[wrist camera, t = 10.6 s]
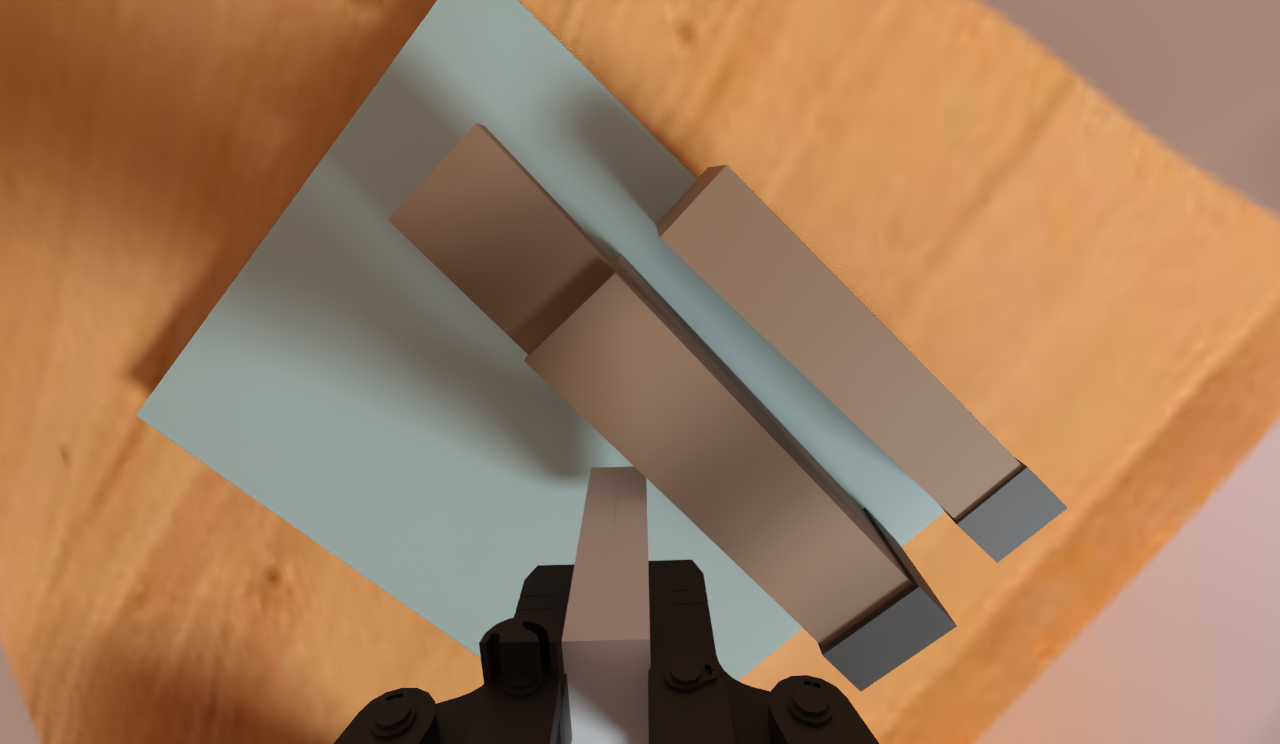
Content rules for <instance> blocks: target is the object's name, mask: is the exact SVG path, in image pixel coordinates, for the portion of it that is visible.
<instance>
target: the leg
mask: <svg viewBox="0 0 1280 744" xmlns="http://www.w3.org/2000/svg"><path fill="white" fill-rule="evenodd" d="M388 221H389V222H390V223H391V224H392V225H393V226H395V227H396V228H397V229H398V230H399V231H400V232H401V233H402V234H403V235H404V236H405V237H406V238H407V239H408V240H409V241H410V242H411V243H412V244H413V245H414V246H415V247H416V248H417V249H418V250H419V251H421V252H422V253H423V254H424V255H425V256H426V257H427V258H428V259H429V260H430V261H431V262H432V263H433V264H434V265H435V266H436V267H437V268H438V269H439V270H440V271H441V272H442V273H443V274H444V275H446V276H447V277H448V278H449V279H450V280H451V281H452V282H453V283H454V284H455V285H456V286H457V287H458V288H459V289H460V290H461V291H462V292H463V293H464V294H465V295H466V296H467V297H468V298H469V299H470V300H472V301H473V302H474V303H475V304H476V305H477V306H478V307H479V308H480V309H481V310H482V311H483V312H484V313H485V314H486V315H487V316H488V317H489V318H490V319H491V320H492V321H493V322H494V323H495V324H496V325H498V326H499V327H500V328H501V329H502V330H503V331H504V332H505V333H506V334H507V335H508V336H509V337H510V338H511V339H512V340H513V341H514V342H515V343H516V344H517V345H518V346H519V347H520V348H521V349H523V350H524V351H525V352H526V353H527V354H528V355H527V357H526V358H525V360H524V362H526V363H527V364H528V365H529V366H530V367H531V368H532V369H533V370H534V371H535V372H536V373H537V374H538V375H539V376H540V377H541V378H542V379H543V380H544V381H545V382H546V383H548V384H549V385H550V386H551V387H552V388H553V389H554V390H555V391H556V392H557V393H558V394H559V395H560V396H561V397H562V398H563V399H564V400H565V401H566V402H567V403H568V404H569V405H571V406H572V407H573V408H574V409H575V410H576V411H577V412H578V413H579V414H580V415H581V416H582V417H583V418H584V419H585V420H586V421H587V422H588V423H589V424H590V425H591V426H592V427H594V428H595V429H596V430H597V431H598V432H599V433H600V434H601V435H602V436H603V437H604V438H605V439H606V440H607V441H608V442H609V443H610V444H611V445H612V446H613V447H614V448H616V449H617V450H618V451H619V452H620V453H621V454H622V455H623V456H624V457H625V458H626V459H627V460H628V461H629V462H630V463H631V464H632V465H633V466H634V467H635V468H636V469H637V470H639V471H640V472H641V473H642V474H643V475H644V476H645V477H646V478H647V479H648V480H649V481H650V482H651V483H652V484H653V485H654V486H655V487H656V488H657V489H658V490H659V491H660V492H662V493H663V494H664V495H665V496H666V497H667V498H668V499H669V500H670V501H671V502H672V503H673V504H674V505H675V506H676V507H677V508H678V509H679V510H680V511H681V512H682V513H684V514H685V515H686V516H687V517H688V518H689V519H690V520H691V521H692V522H693V523H694V524H695V525H696V526H697V527H698V528H699V529H700V530H701V531H702V532H703V533H704V534H705V535H707V536H708V537H709V538H710V539H711V540H712V541H713V542H714V543H715V544H716V545H717V546H718V547H719V548H720V549H721V550H722V551H723V552H724V553H725V554H726V555H727V556H728V557H730V558H731V559H732V560H733V561H734V562H735V563H736V564H737V565H738V566H739V567H740V568H741V569H742V570H743V571H744V572H745V573H746V574H747V575H748V576H749V577H750V578H752V579H753V580H754V581H755V582H756V583H757V584H758V585H759V586H760V587H761V588H762V589H763V590H764V591H765V592H766V593H767V594H768V595H769V596H770V597H771V598H772V599H773V600H775V601H776V602H777V603H778V604H779V605H780V606H781V607H782V608H783V609H784V610H785V611H786V612H787V613H788V614H789V615H790V616H791V617H792V618H793V619H794V620H795V621H796V622H798V623H799V624H800V625H801V626H802V627H803V628H804V629H805V630H806V631H807V632H808V633H809V634H810V635H811V636H812V637H813V638H814V639H815V640H816V641H817V642H818V644H819V647H820V650H821V652H822V655H823V656H824V657H825V658H826V659H827V660H828V661H829V662H830V663H831V664H832V665H833V666H834V667H836V668H837V669H838V670H839V671H840V672H841V673H842V674H843V675H844V676H845V677H846V678H847V679H848V680H849V681H850V682H851V683H852V684H853V685H854V686H855V687H857V688H858V689H859V690H860V691H862V690H864V689H865V688H867V687H868V686H870V685H871V684H873V683H874V682H876V681H877V680H879V679H880V678H882V677H883V676H884V675H886V674H887V673H889V672H890V671H892V670H893V669H895V668H896V667H898V666H899V665H901V664H902V663H904V662H905V661H906V660H908V659H909V658H911V657H912V656H914V655H915V654H917V653H918V652H920V651H921V650H923V649H924V648H926V647H927V646H929V645H930V644H931V643H933V642H934V641H936V640H937V639H939V638H940V637H942V636H943V635H945V634H946V633H948V632H949V631H951V630H952V629H953V628H955V627H956V624H955V623H954V621H953V620H952V619H951V617H950V616H949V614H948V613H947V611H946V610H945V609H944V607H943V606H942V604H941V603H940V601H939V600H938V599H937V597H936V596H935V594H934V593H933V592H932V590H931V589H930V587H929V586H928V584H927V583H926V582H925V580H924V579H923V577H922V576H921V574H920V573H919V572H918V570H917V569H916V567H915V566H914V564H913V563H912V562H911V560H910V559H909V557H908V556H907V555H906V553H905V552H904V550H903V549H902V547H901V546H900V545H899V543H898V542H897V540H896V539H895V538H894V537H893V536H892V535H891V534H890V533H889V532H888V531H887V530H886V529H885V528H884V527H883V526H882V524H881V523H880V522H879V521H878V520H877V519H876V518H875V517H874V516H873V515H872V514H871V513H870V512H869V511H868V510H867V509H866V507H865V508H864V509H862V508H861V507H860V506H859V505H858V504H857V503H856V502H855V501H854V500H853V499H852V497H851V496H850V495H849V494H848V493H847V492H846V491H845V490H844V489H843V488H842V487H841V486H840V485H839V484H838V483H837V482H836V481H835V479H834V478H833V477H832V476H831V475H830V474H829V473H828V472H827V471H826V470H825V469H824V468H823V467H822V466H821V465H820V464H819V463H818V461H817V460H816V459H815V458H814V457H813V456H812V455H811V454H810V453H809V452H808V451H807V450H806V449H805V448H804V447H803V446H802V445H801V443H800V442H799V441H798V440H797V439H796V438H795V437H794V436H793V435H792V434H791V433H790V432H789V431H788V430H787V429H786V428H785V427H784V425H783V424H782V423H781V422H780V421H779V420H778V419H777V418H776V417H775V416H774V415H773V414H772V413H771V412H770V411H769V410H768V409H767V407H766V406H765V405H764V404H763V403H762V402H761V401H760V400H759V399H758V398H757V397H756V396H755V395H754V394H753V393H752V392H751V391H750V389H749V388H748V387H747V386H746V385H745V384H744V383H743V382H742V381H741V380H740V379H739V378H738V377H737V376H736V375H735V374H734V373H733V371H732V370H731V369H730V368H729V367H728V366H727V365H726V364H725V363H724V362H723V361H722V360H721V359H720V358H719V357H718V356H717V355H716V353H715V352H714V351H713V350H712V349H711V348H710V347H709V346H708V345H707V344H706V343H705V342H704V341H703V340H702V339H701V338H700V337H699V335H698V334H697V333H696V332H695V331H694V330H693V329H692V328H691V327H690V326H689V325H688V324H687V323H686V322H685V321H684V320H683V319H682V317H681V316H680V315H679V314H678V313H677V312H676V311H675V310H674V309H673V308H672V307H671V306H670V305H669V304H668V303H667V302H666V301H665V299H664V298H663V297H662V296H661V295H660V294H659V293H658V292H657V291H656V290H655V289H654V288H653V287H652V286H651V285H650V284H649V283H648V281H647V280H646V279H645V278H644V277H643V276H642V275H641V274H640V273H639V272H638V271H637V270H636V269H635V268H634V267H633V266H632V265H631V263H630V262H629V261H628V260H627V259H626V258H625V257H624V256H623V255H622V254H621V253H620V254H619V255H618V256H617V257H616V258H615V259H614V260H612V259H611V258H610V257H609V256H608V255H607V254H606V253H605V252H604V251H603V250H602V249H601V248H600V247H599V246H598V245H597V244H596V242H595V241H594V240H593V239H592V238H591V237H590V236H589V235H588V234H587V233H586V232H585V231H584V230H583V229H582V228H581V227H580V226H579V225H578V224H577V223H576V221H575V220H574V219H573V218H572V217H571V216H570V215H569V214H568V213H567V212H566V211H565V210H564V209H563V208H562V207H561V206H560V205H559V204H558V203H557V202H556V200H555V199H554V198H553V197H552V196H551V195H550V194H549V193H548V192H547V191H546V190H545V189H544V188H543V187H542V186H541V185H540V184H539V183H538V182H537V180H536V179H535V178H534V177H533V176H532V175H531V174H530V173H529V172H528V171H527V170H526V169H525V168H524V167H523V166H522V165H521V164H520V163H519V162H518V161H517V159H516V158H515V157H514V156H513V155H512V154H511V153H510V152H509V151H508V150H507V149H506V148H505V147H504V146H503V145H502V144H501V143H500V142H499V141H498V140H497V138H496V137H495V136H494V135H493V134H492V133H491V132H490V131H489V130H488V129H487V128H486V127H485V126H484V125H481V124H478V123H475V125H474V126H473V127H472V128H471V129H470V130H469V131H468V132H467V133H466V134H465V136H464V137H463V138H462V139H461V140H460V141H459V142H458V143H457V144H456V145H455V147H454V148H453V149H452V150H451V151H450V152H449V153H448V154H447V155H446V156H445V158H444V159H443V160H442V161H441V162H440V163H439V164H438V165H437V166H436V168H435V169H434V170H433V171H432V172H431V173H430V174H429V175H428V176H427V177H426V179H425V180H424V181H423V182H422V183H421V184H420V185H419V186H418V187H417V188H416V190H415V191H414V192H413V193H412V194H411V195H410V196H409V197H408V198H407V200H406V201H405V202H404V203H403V204H402V205H401V206H400V207H399V208H398V209H397V211H396V212H395V213H394V214H393V215H392V216H391V217H390V218H389V219H388Z"/></svg>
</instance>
